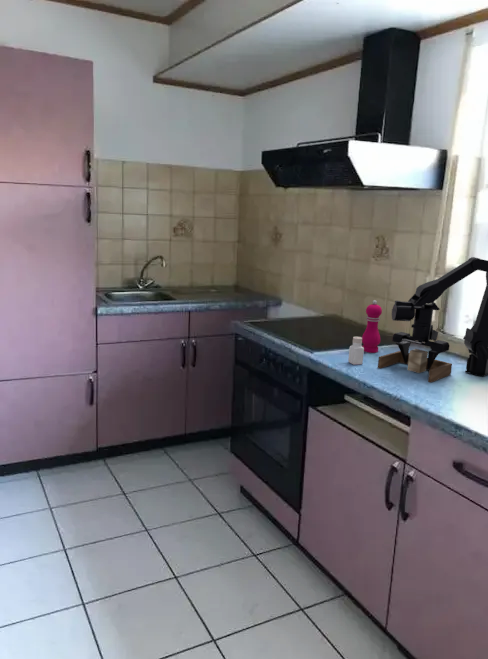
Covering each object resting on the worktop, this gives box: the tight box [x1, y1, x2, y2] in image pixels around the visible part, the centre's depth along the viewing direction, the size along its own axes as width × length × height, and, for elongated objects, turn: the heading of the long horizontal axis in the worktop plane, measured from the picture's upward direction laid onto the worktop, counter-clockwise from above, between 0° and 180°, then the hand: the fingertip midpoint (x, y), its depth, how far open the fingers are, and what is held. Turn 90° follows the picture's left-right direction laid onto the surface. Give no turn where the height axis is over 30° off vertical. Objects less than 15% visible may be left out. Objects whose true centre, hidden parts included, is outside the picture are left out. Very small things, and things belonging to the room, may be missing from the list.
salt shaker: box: [348, 336, 365, 366], centre depth 197 cm, size 4×4×10 cm
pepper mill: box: [361, 299, 383, 354], centre depth 215 cm, size 7×7×20 cm
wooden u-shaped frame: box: [377, 350, 453, 384], centre depth 192 cm, size 20×14×4 cm
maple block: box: [407, 348, 429, 374], centre depth 193 cm, size 4×4×7 cm
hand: (417, 365), depth 193 cm, fingers open, 8 cm apart
